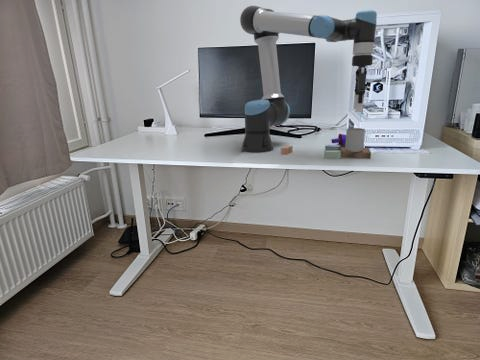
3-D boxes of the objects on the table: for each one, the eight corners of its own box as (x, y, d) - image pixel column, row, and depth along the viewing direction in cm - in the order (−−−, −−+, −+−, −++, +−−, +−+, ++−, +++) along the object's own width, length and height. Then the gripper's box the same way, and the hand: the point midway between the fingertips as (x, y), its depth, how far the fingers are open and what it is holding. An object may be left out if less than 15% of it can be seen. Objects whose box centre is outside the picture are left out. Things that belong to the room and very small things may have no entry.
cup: (344, 151, 131) (345, 130, 128) (346, 147, 139) (348, 126, 137) (362, 152, 128) (364, 130, 125) (363, 148, 137) (365, 127, 134)
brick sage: (325, 159, 130) (326, 152, 129) (324, 157, 133) (324, 150, 132) (340, 158, 130) (341, 151, 129) (338, 157, 133) (338, 150, 132)
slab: (339, 157, 131) (340, 151, 131) (339, 152, 141) (339, 147, 140) (370, 158, 128) (371, 152, 127) (368, 153, 137) (368, 147, 137)
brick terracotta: (287, 155, 139) (287, 148, 138) (280, 154, 141) (280, 147, 140) (292, 152, 144) (292, 146, 143) (286, 151, 146) (286, 145, 145)
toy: (333, 153, 150) (366, 148, 148) (332, 137, 148) (365, 132, 145) (330, 147, 161) (360, 142, 158) (328, 132, 158) (359, 127, 155)
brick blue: (324, 152, 143) (325, 145, 142) (326, 151, 145) (327, 144, 144) (338, 153, 140) (338, 146, 139) (340, 152, 142) (340, 145, 141)
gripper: (377, 52, 110) (370, 113, 116) (369, 56, 133) (364, 108, 139) (354, 53, 112) (349, 113, 118) (351, 57, 135) (347, 107, 141)
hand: (357, 110), depth 129 cm, fingers open, 13 cm apart
